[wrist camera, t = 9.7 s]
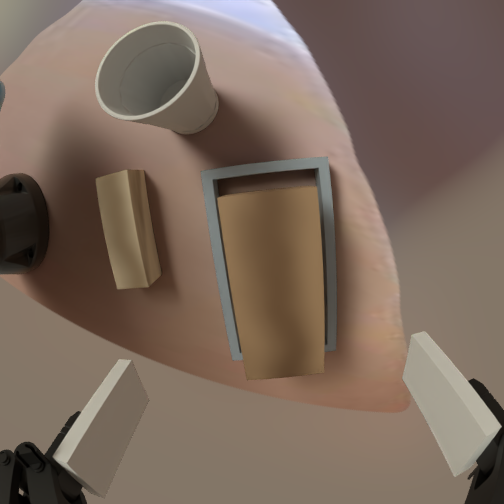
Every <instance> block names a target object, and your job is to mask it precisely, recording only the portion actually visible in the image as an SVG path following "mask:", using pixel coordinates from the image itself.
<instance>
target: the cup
mask: <svg viewBox="0 0 504 504" xmlns="http://www.w3.org/2000/svg"><path fill="white" fill-rule="evenodd" d="M95 91H96V96H97V99H98V102H99V104H100V106H101V107H102V108H103V110H104V111H105V112H106V113H108V114H109V115H111V116H112V117H115V118H117V119H121V120H126V121H132V122H137V123H143V124H150V125H154V126H158V127H162V128H166V129H170V130H172V131H174V132H177V133H180V134H193V133H197V132H199V131H201V130H203V129H205V128H206V127H207V126H208V125H209V124H210V123H211V122H212V121H213V120H214V118H215V116H216V114H217V111H218V107H219V101H218V96H217V94H216V92H215V90H214V89H213V86H212V83H211V81H210V78H209V75H208V72H207V69H206V65H205V62H204V58H203V55H202V52H201V49H200V46H199V43H198V40H197V38H196V37H195V35H194V34H193V33H192V32H191V31H190V30H189V29H188V28H186V27H185V26H183V25H180V24H178V23H174V22H167V21H160V22H152V23H148V24H145V25H142V26H139V27H137V28H135V29H133V30H131V31H130V32H128V33H127V34H125V35H124V36H122V37H121V38H120V39H119V40H118V41H117V42H116V43H115V44H114V45H113V46H112V47H111V48H110V49H109V50H108V52H107V53H106V55H105V56H104V58H103V60H102V62H101V64H100V66H99V68H98V71H97V75H96V81H95Z"/></svg>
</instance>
